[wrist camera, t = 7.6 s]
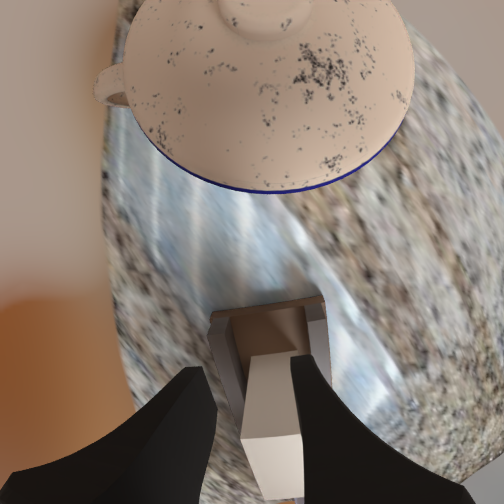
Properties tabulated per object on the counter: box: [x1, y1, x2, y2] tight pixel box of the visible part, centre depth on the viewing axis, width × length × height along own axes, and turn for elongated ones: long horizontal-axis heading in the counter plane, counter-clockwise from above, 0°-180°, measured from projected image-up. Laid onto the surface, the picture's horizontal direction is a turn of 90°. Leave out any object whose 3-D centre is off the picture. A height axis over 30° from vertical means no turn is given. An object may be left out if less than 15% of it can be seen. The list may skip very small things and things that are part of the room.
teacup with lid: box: [93, 0, 415, 194], centre depth 10 cm, size 12×9×12 cm
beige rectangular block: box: [240, 350, 304, 500], centre depth 16 cm, size 3×7×7 cm, turn 11°
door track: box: [207, 295, 332, 436], centre depth 19 cm, size 16×7×4 cm, turn 11°
